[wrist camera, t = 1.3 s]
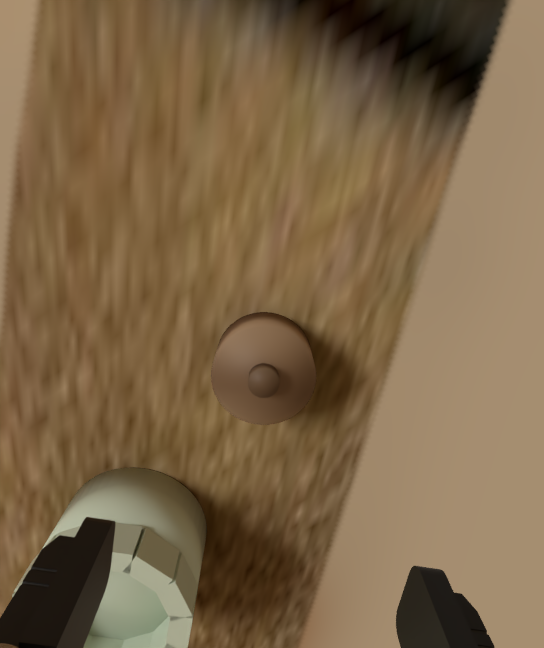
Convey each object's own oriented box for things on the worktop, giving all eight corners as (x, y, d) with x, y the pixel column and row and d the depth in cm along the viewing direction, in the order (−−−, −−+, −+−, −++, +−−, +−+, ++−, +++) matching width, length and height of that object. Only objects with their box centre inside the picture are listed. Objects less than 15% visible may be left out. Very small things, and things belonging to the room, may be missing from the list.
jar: (71, 457, 30) (14, 538, 23) (216, 479, 30) (202, 564, 24) (62, 574, 32) (9, 677, 26) (196, 592, 33) (178, 698, 26)
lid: (224, 304, 27) (218, 323, 24) (320, 320, 28) (328, 342, 24) (210, 392, 29) (202, 423, 25) (300, 407, 29) (305, 439, 26)
